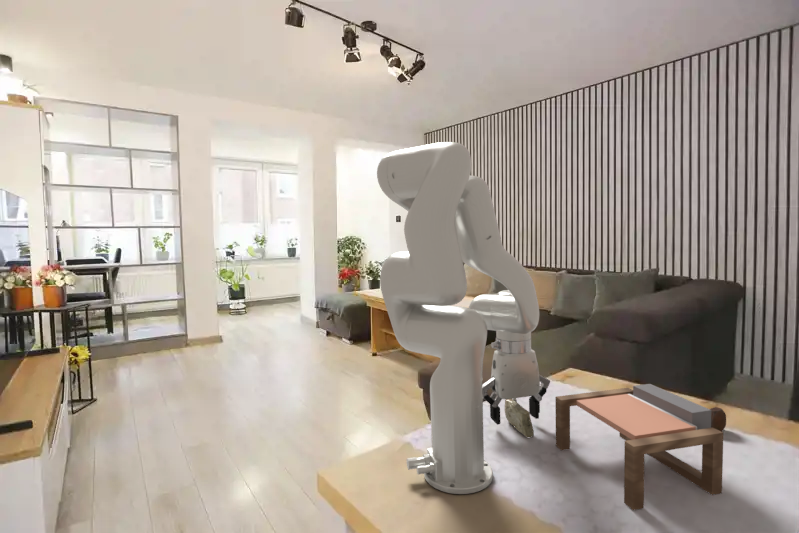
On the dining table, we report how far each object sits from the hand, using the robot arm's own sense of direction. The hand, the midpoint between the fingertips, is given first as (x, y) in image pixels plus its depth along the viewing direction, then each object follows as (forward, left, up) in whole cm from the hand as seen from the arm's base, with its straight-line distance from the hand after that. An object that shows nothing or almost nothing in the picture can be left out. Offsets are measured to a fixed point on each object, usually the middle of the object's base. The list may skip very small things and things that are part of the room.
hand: (515, 419), depth 101 cm
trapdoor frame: (+13, -21, -2) cm, 25 cm away
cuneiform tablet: (+1, 0, -2) cm, 3 cm away
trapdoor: (+15, -21, +6) cm, 27 cm away
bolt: (+39, -7, -2) cm, 39 cm away
